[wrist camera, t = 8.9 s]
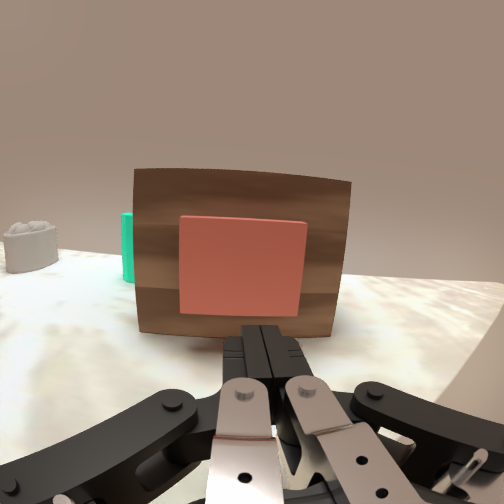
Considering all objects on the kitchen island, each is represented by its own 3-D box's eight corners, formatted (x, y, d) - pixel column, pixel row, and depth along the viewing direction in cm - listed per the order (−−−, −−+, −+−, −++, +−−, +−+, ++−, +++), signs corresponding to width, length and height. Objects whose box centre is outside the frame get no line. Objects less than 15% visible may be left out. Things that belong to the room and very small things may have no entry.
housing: (330, 336, 27) (351, 182, 24) (139, 331, 25) (134, 168, 22) (302, 295, 39) (313, 183, 35) (163, 290, 37) (164, 175, 34)
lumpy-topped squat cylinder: (64, 259, 47) (61, 218, 46) (25, 276, 35) (20, 227, 33) (34, 255, 47) (32, 218, 45) (-3, 270, 35) (-8, 227, 33)
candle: (160, 272, 45) (161, 202, 43) (154, 284, 39) (154, 204, 37) (128, 271, 44) (127, 202, 42) (118, 282, 38) (116, 204, 36)
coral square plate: (297, 316, 23) (307, 223, 21) (180, 313, 22) (179, 217, 20) (278, 281, 32) (283, 213, 30) (193, 278, 31) (194, 209, 29)
